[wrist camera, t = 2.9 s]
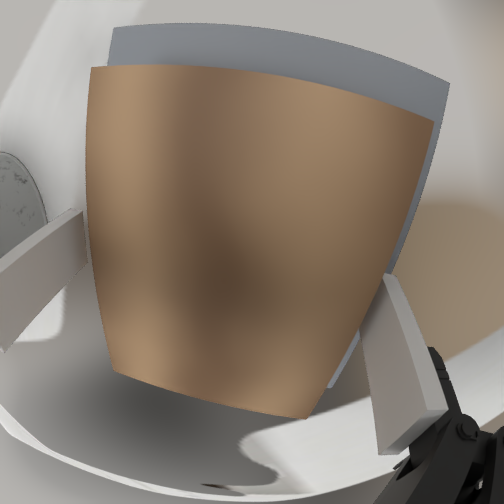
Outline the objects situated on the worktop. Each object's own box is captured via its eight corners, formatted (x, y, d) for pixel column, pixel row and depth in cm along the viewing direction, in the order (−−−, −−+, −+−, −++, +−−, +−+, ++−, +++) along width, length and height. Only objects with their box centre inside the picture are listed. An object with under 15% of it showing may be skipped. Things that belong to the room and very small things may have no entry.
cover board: (392, 113, 11) (434, 121, 7) (308, 360, 18) (306, 419, 14) (149, 72, 12) (91, 67, 8) (143, 321, 19) (113, 370, 15)
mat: (446, 83, 10) (449, 83, 10) (331, 383, 20) (331, 387, 19) (117, 28, 11) (113, 27, 10) (118, 333, 20) (116, 336, 20)
